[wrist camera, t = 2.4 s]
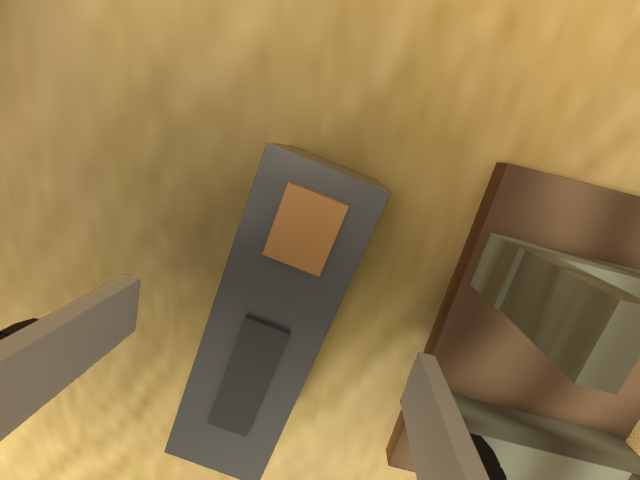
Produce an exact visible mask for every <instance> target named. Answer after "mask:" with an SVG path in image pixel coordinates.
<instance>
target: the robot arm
mask: <svg viewBox="0 0 640 480" xmlns="http://www.w3.org/2000/svg"><path fill="white" fill-rule="evenodd" d="M139 287H140V278H136V277H133V276H129V275H125V274H124V275H122V276H120V277H118V278H117V279H115V280H113V281H111V282H109V283H107V284H105V285H103V286H102V287H100V288H98V289H96V290H94V291H92V292H90V293H88V294H87V295H85V296H83V297H81V298H79V299H77V300H75V301H73V302H71V303H70V304H68V305H66V306H64V307H62V308H60V309H58V310H56V311H55V312H53V313H51V314H49V315H47V316H45V317H43V318H41V319H36V318H33V319H29V320H26V321H22V322H19V323H15V324H13V325H11V326H9V327H7V328H5V329H3V330H1V331H0V441H1V440H3V439H4V438H5V437H6V436H7V435H9V434H10V433H11V432H12V431H13V430H15V429H16V428H17V427H18V426H20V425H21V424H22V423H23V422H24V421H26V420H27V419H28V418H29V417H30V416H32V415H33V414H34V413H35V412H37V411H38V410H39V409H40V408H41V407H43V406H44V405H45V404H46V403H47V402H49V401H50V400H51V399H52V398H54V397H55V396H56V395H57V394H58V393H60V392H61V391H62V390H63V389H64V388H66V387H67V386H68V385H69V384H71V383H72V382H73V381H74V380H75V379H77V378H78V377H79V376H80V375H81V374H83V373H84V372H85V371H86V370H88V369H89V368H90V367H91V366H92V365H94V364H95V363H96V362H97V361H98V360H100V359H101V358H102V357H103V356H105V355H106V354H107V353H108V352H109V351H111V350H112V349H113V348H114V347H115V346H117V345H118V344H119V343H120V342H122V341H123V340H124V339H125V338H126V337H128V336H129V335H130V334H131V333H132V332H134V331H135V326H136V316H137V307H138V297H139ZM400 403H401V407H402V412H403V416H404V421H405V425H406V430H407V435H408V439H409V444H410V448H411V453H412V457H413V462H414V466H415V471H416V476H417V480H507V479H506V478H507V477H506V475H505V473H504V471H503V469H502V468H501V467H500V463H499V461H498V459H497V457H496V455H495V453H494V451H493V449H492V448H491V447H490V446H489V445H488V443H487V442H486V441H485V440H484V439H483V437H482V436H479V435H476V434H472V433H469V432H468V429H467V427H466V425H465V423H464V420H463V418H462V416H461V414H460V411H459V409H458V407H457V405H456V402H455V400H454V398H453V396H452V393H451V391H450V389H449V387H448V384H447V382H446V380H445V378H444V375H443V373H442V371H441V368H440V366H439V364H438V362H437V359H436V357H435V356H433V355H429V354H425V353H422V352H418V354H417V357H416V360H415V362H414V365H413V368H412V370H411V373H410V376H409V378H408V381H407V384H406V386H405V389H404V392H403V394H402V397H401V400H400Z"/></svg>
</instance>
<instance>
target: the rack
mask: <svg viewBox="0 0 640 480" xmlns="http://www.w3.org/2000/svg"><path fill="white" fill-rule="evenodd" d="M424 353H425V354H429V355H433V356H435V357H436V359H437V362H438V364H439V366H440V368H441V371H442V373H443V375H444V378H445V380H446V382H447V384H448V387H449V389H450V391H451V393H452V396H453V398H454V400H455V402H456V405H457V407H458V409H459V411H460V414H461V416H462V418H463V420H464V423H465V425H466V427H467V429H468V432H469V433H472V434H476V435H479V436H482V437H483V439H484V440H485V441H486V442H487V443H488V445H489V446H490V447H491V448H492V449H493V451H494V453H495V455H496V457H497V459H498V461H499V463H500V467H501V468H502V469H503V471H504V473H505V475H506V477H507V478H506V479H507V480H640V456H639V455H638V454H637V453H636V452H635V451H634V450H633V449H632V448H631V447H630V446H629V445H628V444H627V443H626V442H625V441H626V439H627V438H628V436H629V435H630V433H631V431H632V430H633V428H634V427H635V425H636V424H637V422H638V421H639V419H640V197H638V196H634V195H630V194H626V193H622V192H618V191H615V190H611V189H607V188H603V187H599V186H595V185H591V184H587V183H583V182H579V181H575V180H571V179H568V178H564V177H560V176H556V175H552V174H548V173H544V172H540V171H536V170H532V169H528V168H524V167H521V166H517V165H513V164H509V163H497V164H496V166H495V169H494V171H493V174H492V176H491V179H490V182H489V184H488V187H487V189H486V192H485V195H484V197H483V200H482V202H481V205H480V208H479V210H478V213H477V215H476V218H475V221H474V223H473V226H472V228H471V231H470V233H469V236H468V239H467V241H466V244H465V246H464V249H463V252H462V254H461V257H460V259H459V262H458V265H457V267H456V270H455V272H454V275H453V277H452V280H451V283H450V285H449V288H448V290H447V293H446V296H445V298H444V301H443V303H442V306H441V309H440V311H439V314H438V316H437V319H436V321H435V324H434V327H433V329H432V332H431V334H430V337H429V340H428V342H427V345H426V347H425V350H424ZM386 453H387V460H388V466H391V467H395V468H399V469H403V470H407V471H411V472H415V473H416V471H415V466H414V462H413V457H412V453H411V448H410V444H409V439H408V435H407V430H406V425H405V421H404V416H403V412H402V410H401V412H400V415H399V417H398V420H397V422H396V425H395V428H394V430H393V433H392V435H391V438H390V441H389V443H388V446H387V448H386Z"/></svg>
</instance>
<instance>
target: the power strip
mask: <svg viewBox="0 0 640 480" xmlns="http://www.w3.org/2000/svg"><path fill="white" fill-rule="evenodd" d="M390 194H391V193H390V192H389V191H388V190H387V189H385V188H384V187H383V186H382V185H381V184H379V183H378V182H377V181H376V180H374V179H372V178H369V177H367V176H364V175H362V174H359V173H357V172H354V171H352V170H350V169H347V168H345V167H342V166H340V165H337V164H335V163H332V162H330V161H328V160H325V159H323V158H320V157H318V156H315V155H313V154H310V153H308V152H305V151H303V150H301V149H298V148H296V147H293V146H291V145H284V144H275V143H266V146H265V149H264V152H263V155H262V158H261V161H260V164H259V167H258V170H257V173H256V176H255V179H254V182H253V185H252V188H251V191H250V195H249V198H248V201H247V204H246V207H245V210H244V213H243V216H242V219H241V222H240V225H239V228H238V231H237V234H236V237H235V240H234V243H233V246H232V249H231V252H230V255H229V258H228V261H227V264H226V267H225V270H224V273H223V276H222V279H221V282H220V285H219V288H218V291H217V294H216V297H215V300H214V303H213V306H212V309H211V312H210V315H209V318H208V321H207V324H206V328H205V331H204V334H203V337H202V340H201V343H200V346H199V349H198V352H197V355H196V358H195V361H194V364H193V367H192V370H191V373H190V376H189V379H188V382H187V385H186V388H185V391H184V394H183V397H182V400H181V403H180V406H179V409H178V412H177V415H176V418H175V421H174V424H173V427H172V430H171V433H170V436H169V439H168V442H167V445H166V448H165V451H164V452H165V453H168V454H171V455H174V456H177V457H179V458H182V459H185V460H188V461H191V462H193V463H196V464H199V465H202V466H204V467H207V468H210V469H213V470H216V471H218V472H221V473H224V474H227V475H229V476H232V477H235V478H238V479H241V480H260V479H261V477H262V475H263V473H264V470H265V468H266V466H267V464H268V462H269V459H270V457H271V455H272V453H273V451H274V448H275V446H276V444H277V442H278V440H279V437H280V435H281V433H282V431H283V429H284V426H285V424H286V422H287V420H288V418H289V415H290V413H291V411H292V409H293V407H294V404H295V402H296V400H297V398H298V396H299V393H300V391H301V389H302V387H303V385H304V382H305V380H306V378H307V376H308V374H309V371H310V369H311V367H312V365H313V363H314V361H315V358H316V356H317V354H318V352H319V350H320V347H321V345H322V343H323V341H324V339H325V336H326V334H327V332H328V330H329V328H330V325H331V323H332V321H333V319H334V317H335V314H336V312H337V310H338V308H339V306H340V303H341V301H342V299H343V297H344V295H345V292H346V290H347V288H348V286H349V284H350V281H351V279H352V277H353V275H354V273H355V270H356V268H357V266H358V264H359V262H360V259H361V257H362V255H363V253H364V251H365V249H366V246H367V244H368V242H369V240H370V238H371V235H372V233H373V231H374V229H375V227H376V224H377V222H378V220H379V218H380V216H381V213H382V211H383V209H384V207H385V205H386V202H387V200H388V198H389V196H390Z"/></svg>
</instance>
